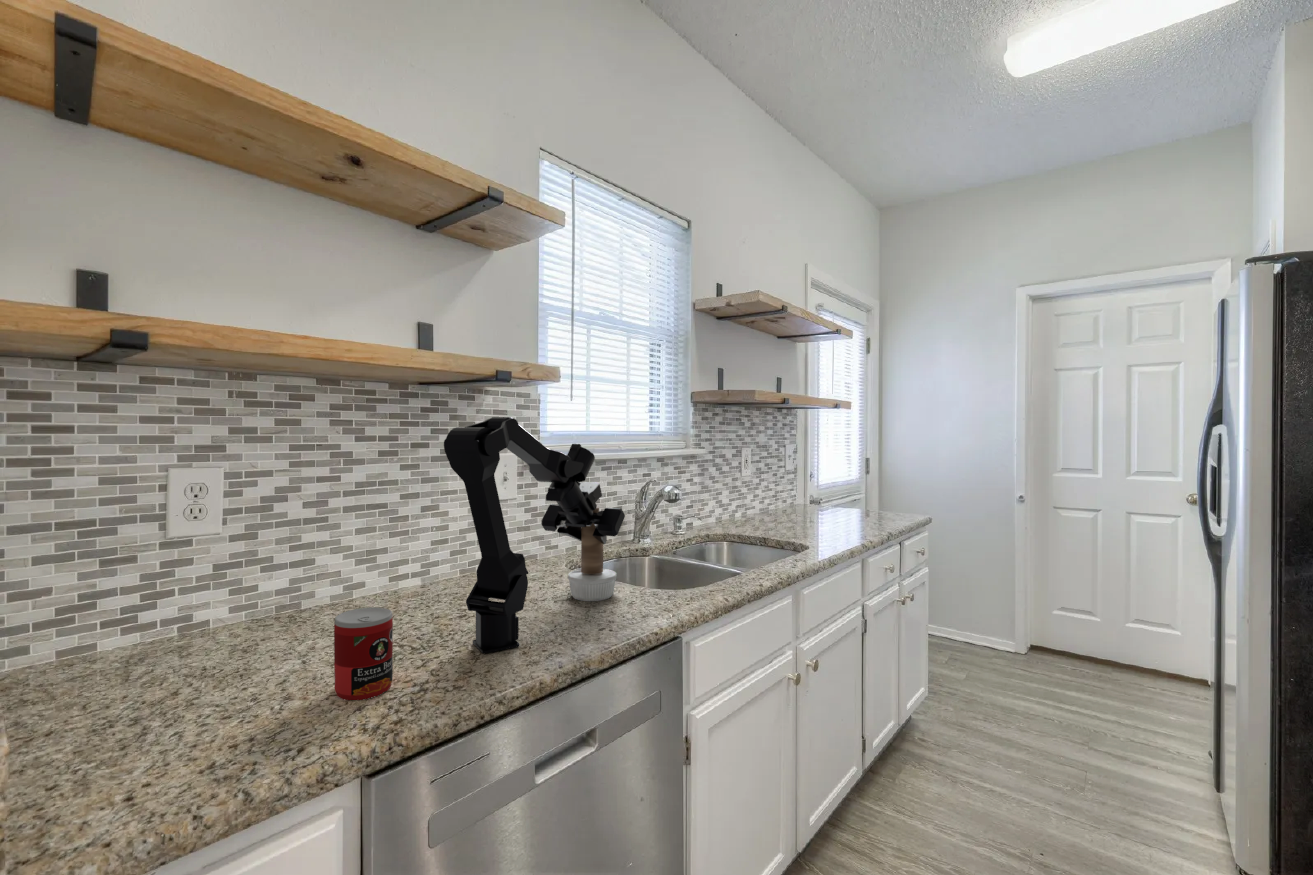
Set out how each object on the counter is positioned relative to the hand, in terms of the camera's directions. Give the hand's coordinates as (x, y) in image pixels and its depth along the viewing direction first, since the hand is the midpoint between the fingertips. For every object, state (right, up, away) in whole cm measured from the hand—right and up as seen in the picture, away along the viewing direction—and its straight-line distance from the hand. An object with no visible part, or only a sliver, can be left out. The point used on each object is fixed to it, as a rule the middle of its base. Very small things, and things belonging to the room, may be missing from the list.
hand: (595, 541), depth 139 cm
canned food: (-29, -13, -51) cm, 60 cm away
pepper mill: (-1, -7, -1) cm, 7 cm away
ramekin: (-1, -13, -1) cm, 13 cm away
